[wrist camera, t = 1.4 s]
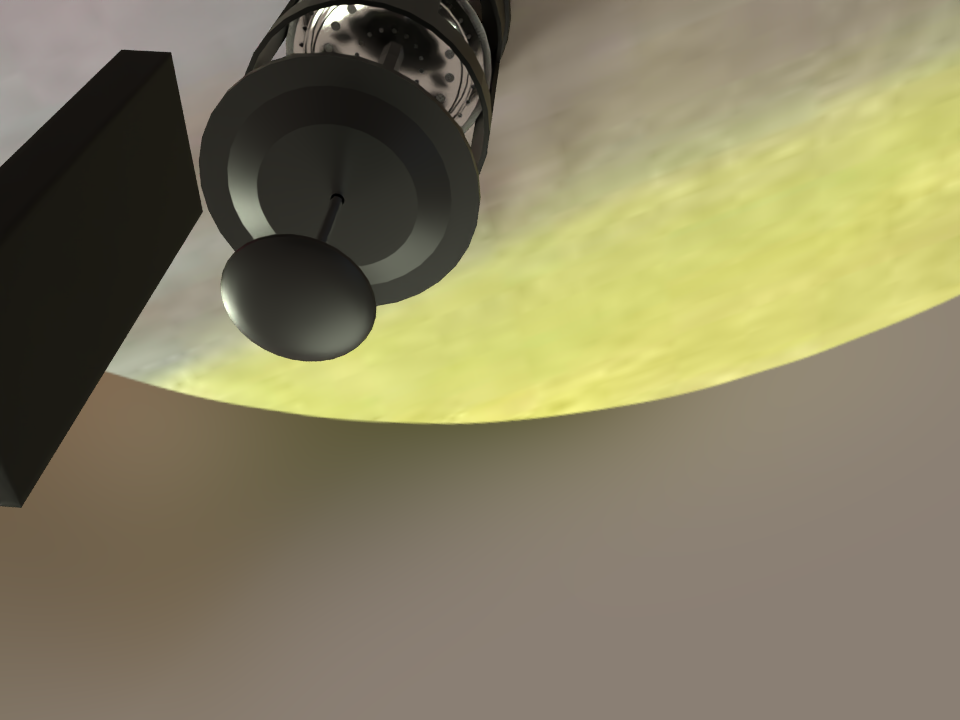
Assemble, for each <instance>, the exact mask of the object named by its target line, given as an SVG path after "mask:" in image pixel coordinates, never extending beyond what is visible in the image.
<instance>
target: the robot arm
mask: <svg viewBox="0 0 960 720" xmlns="http://www.w3.org/2000/svg"><path fill="white" fill-rule="evenodd" d="M202 212H203V211H202V205H201V200H200V195H199V190H198V185H197V180H196V175H195V170H194V165H193V160H192V155H191V150H190V145H189V140H188V135H187V130H186V125H185V120H184V115H183V110H182V105H181V100H180V95H179V90H178V85H177V80H176V75H175V70H174V65H173V60H172V55H171V52H154V51H134V50H121V51H120V52H119V53H118V54H117V55H116V56H115V57H114V58H112V59H111V60H110V61H109V62H108V63H107V64H106V65H105V66H104V67H103V68H102V69H101V70H100V71H99V72H98V73H97V74H96V75H95V76H94V77H93V78H92V79H91V80H90V81H89V82H88V83H87V84H86V85H85V86H84V87H82V88H81V89H80V90H79V91H78V92H77V93H76V94H75V95H74V96H73V97H72V98H71V99H70V100H69V101H68V102H67V103H66V104H65V105H64V106H63V107H62V108H61V109H60V110H59V111H58V112H57V113H56V114H55V115H54V116H53V117H51V118H50V119H49V120H48V121H47V122H46V123H45V124H44V125H43V126H42V127H41V128H40V129H39V130H38V131H37V132H36V133H35V134H34V135H33V136H32V137H31V138H30V139H29V140H28V141H27V142H26V143H25V144H24V145H23V146H21V147H20V148H19V149H18V150H17V151H16V152H15V153H14V154H13V155H12V156H11V157H10V158H9V159H8V160H7V161H6V162H5V163H4V164H3V165H2V166H1V167H0V506H5V507H19V508H21V507H22V506H23V504H24V502H25V501H26V499H27V497H28V496H29V494H30V493H31V491H32V489H33V488H34V486H35V484H36V483H37V481H38V480H39V478H40V476H41V474H42V473H43V471H44V470H45V468H46V466H47V465H48V463H49V462H50V460H51V458H52V457H53V455H54V453H55V452H56V450H57V449H58V447H59V445H60V444H61V442H62V440H63V439H64V437H65V436H66V434H67V432H68V431H69V429H70V427H71V426H72V424H73V422H74V421H75V419H76V418H77V416H78V414H79V413H80V411H81V409H82V408H83V406H84V405H85V403H86V401H87V399H88V398H89V396H90V395H91V393H92V391H93V390H94V388H95V386H96V385H97V383H98V382H99V380H100V378H101V377H102V375H103V374H104V372H105V370H106V369H107V367H108V365H109V364H110V362H111V361H112V359H113V357H114V356H115V354H116V352H117V351H118V349H119V348H120V346H121V344H122V343H123V341H124V339H125V338H126V336H127V334H128V333H129V331H130V330H131V328H132V326H133V325H134V323H135V321H136V320H137V318H138V317H139V315H140V313H141V312H142V310H143V308H144V307H145V305H146V303H147V302H148V300H149V299H150V297H151V295H152V294H153V292H154V290H155V289H156V287H157V286H158V284H159V282H160V281H161V279H162V277H163V276H164V274H165V273H166V271H167V269H168V268H169V266H170V264H171V263H172V261H173V259H174V258H175V256H176V255H177V253H178V251H179V250H180V248H181V246H182V245H183V243H184V242H185V240H186V238H187V237H188V235H189V233H190V232H191V230H192V229H193V227H194V225H195V224H196V222H197V220H198V219H199V217H200V215H201V214H202Z"/></svg>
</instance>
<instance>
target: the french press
mask: <svg viewBox="0 0 960 720" xmlns="http://www.w3.org/2000/svg"><path fill="white" fill-rule="evenodd" d="M480 2H481V7H482V24H481V22H480V20H479V18H478V16H477V14H476V12H475V10H474V9H473V8H472V6H471V5H470V4H469V2H468V1H467V0H290V2H289V3H288V5H287V6H286V7H285V9H284V10H283V12H282V13H281V15H280V16H279V17H278V19H277V20H276V22H275V23H274V25H273V26H272V27H271V29H270V30H269V32H268V33H267V35H266V36H265V38H264V39H263V40H262V42H261V43H260V45H259V46H258V48H257V49H256V50H255V52H254V54H253V56H252V58H251V61H250V63H249V66H248V68H247V71H246V73H245V76H244V77H243V78H242V79H240V80H239V81H238V82H237V83H236V84H235V85H233V86H232V87H231V88H230V89H229V90H228V91H227V92H226V94H225V95H224V97H223V98H222V99H221V101H220V102H219V104H218V105H217V106H216V108H215V109H214V111H213V112H212V114H211V116H210V118H209V121H208V123H207V126H206V128H205V131H204V134H203V136H202V142H201V149H200V157H199V168H200V180H201V187H202V191H203V194H204V197H205V200H206V204H207V207H208V210H209V212H210V214H211V216H212V218H213V220H214V221H215V223H216V225H217V227H218V229H219V231H220V233H221V234H222V235H223V237H224V238H225V239H226V240H227V242H228V243H229V244H230V246H231V247H232V248H233V249H234V251H235V252H234V254H233V255H232V256H231V257H230V258H229V260H228V261H227V263H226V266H225V268H224V270H223V273H222V279H221V294H222V299H223V302H224V306H225V309H226V311H227V313H228V315H229V316H230V318H231V320H232V322H233V323H234V324H235V325H236V326H237V328H238V329H239V330H240V331H241V332H242V333H243V334H244V335H245V336H246V337H247V338H248V339H250V340H251V341H252V342H253V343H255V344H257V345H258V346H260V347H261V348H263V349H265V350H267V351H269V352H271V353H273V354H276V355H278V356H282V357H285V358H288V359H292V360H299V361H324V360H330V359H334V358H337V357H340V356H343V355H345V354H347V353H349V352H350V351H352V350H354V349H355V348H357V347H358V346H359V345H360V344H361V343H362V342H363V341H364V340H365V339H366V338H367V336H368V334H369V333H370V331H371V330H372V327H373V324H374V321H375V318H376V306H379V305H384V304H390V303H395V302H399V301H402V300H404V299H407V298H410V297H412V296H415V295H418V294H420V293H422V292H423V291H425V290H426V289H428V288H430V287H431V286H433V285H435V284H436V283H438V282H439V281H440V280H441V279H442V278H444V277H445V276H446V275H447V274H448V273H449V272H450V271H451V270H452V269H453V268H454V267H455V266H456V265H457V263H458V262H459V260H460V259H461V257H462V256H463V254H464V253H465V251H466V250H467V248H468V247H469V244H470V242H471V239H472V236H473V234H474V231H475V228H476V226H477V219H478V212H479V205H480V198H481V197H480V186H479V174H480V172H481V169H482V166H483V163H484V161H485V158H486V155H487V148H488V141H489V134H490V127H491V120H492V113H493V106H494V99H495V92H496V85H497V78H498V70H499V63H500V59H501V57H502V55H503V52H504V49H505V46H506V43H507V40H508V34H509V27H510V20H511V12H510V0H480ZM286 36H287V38H286ZM285 38H286V56H285V57H283V58H280V59H276V60H272V58H273V56H274V55H275V53H276V52H277V50H278V49H279V47H280V46H281V44H282V43H283V41H284V39H285ZM271 60H272V61H271ZM475 120H476V121H475ZM474 122H475V127H474V133H473V139H472V145H471V147H470V145H469V144H468V142H467V140H466V138H465V135H464V133H465V132H466V131H467V130H468V129H469V128H470V127H471V126H472V125H473V124H474Z"/></svg>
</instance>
